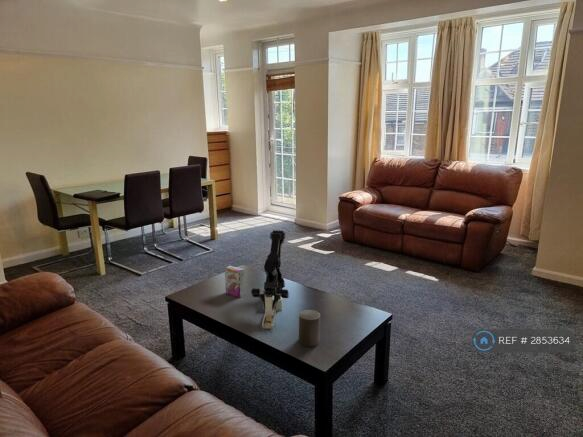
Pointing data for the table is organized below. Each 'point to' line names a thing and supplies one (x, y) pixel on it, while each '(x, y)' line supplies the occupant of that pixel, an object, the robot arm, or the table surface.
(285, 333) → the table surface
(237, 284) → the candy bar box
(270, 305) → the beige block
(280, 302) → the socket block
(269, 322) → the u-shaped channel
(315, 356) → the table surface
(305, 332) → the pillar candle
